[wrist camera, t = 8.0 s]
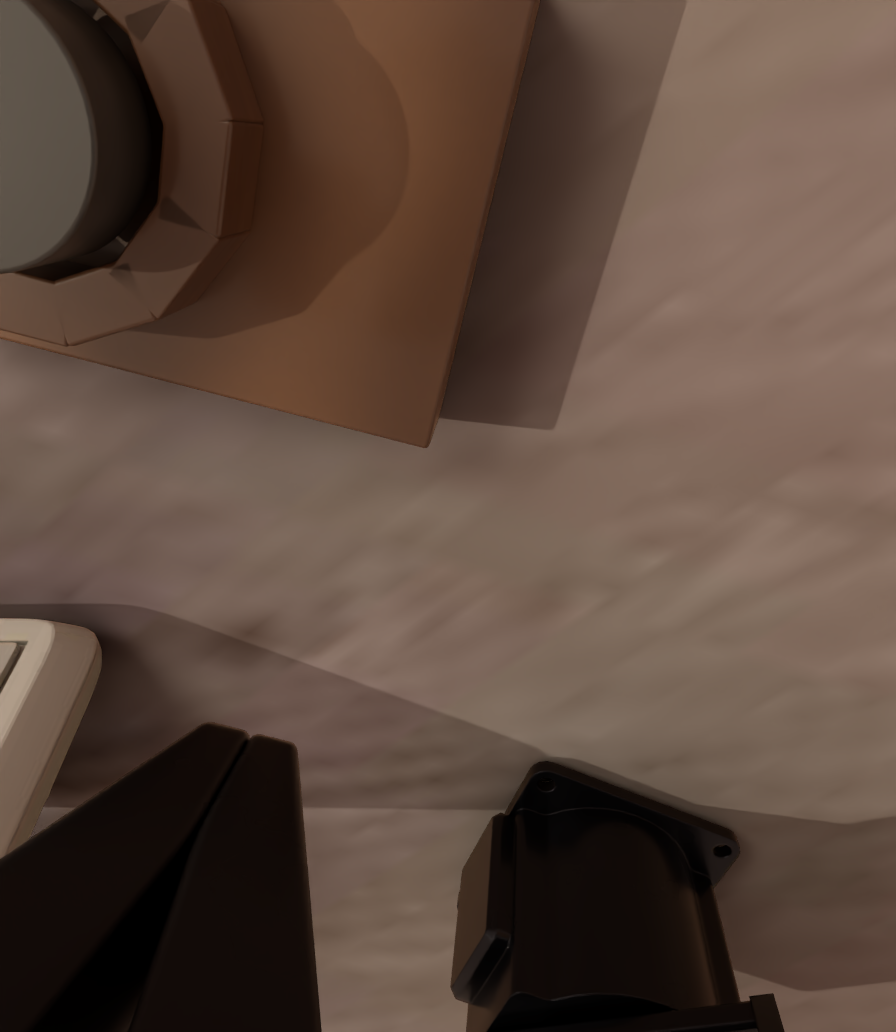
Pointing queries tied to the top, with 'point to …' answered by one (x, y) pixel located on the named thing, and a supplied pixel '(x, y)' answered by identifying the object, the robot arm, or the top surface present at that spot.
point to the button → (65, 135)
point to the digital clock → (39, 713)
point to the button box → (296, 204)
